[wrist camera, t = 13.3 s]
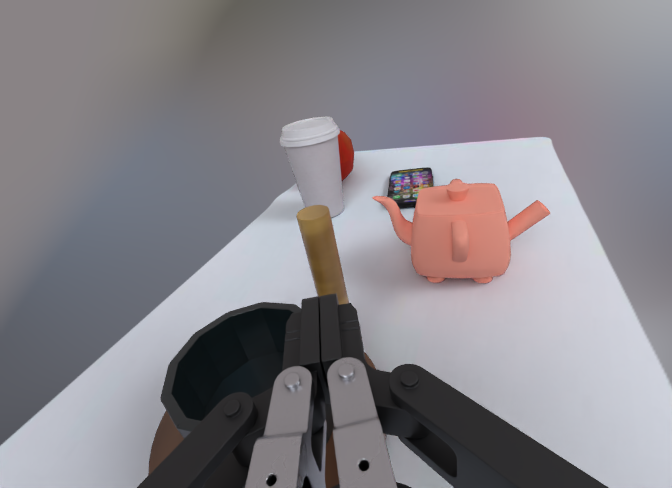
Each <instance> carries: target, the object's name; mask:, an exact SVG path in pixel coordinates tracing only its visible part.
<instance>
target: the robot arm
mask: <svg viewBox="0 0 672 488" xmlns="http://www.w3.org/2000/svg"><path fill="white" fill-rule="evenodd" d="M326 404H331V408H332V415H333V423H334V428H333V438H334V446H335V453H336V461H337V469H338V476H339V484H338V485H335V486H333V487H331V488H411V487H409V486H407V485H404V484H401V483H398V482H396V481H395V477H394V473H393V470H392V466H391V462H390V458H389V454H388V450H387V447H386V443H385V439H384V435H383V433H384V434H389V435H395V436H398V438H399V439H400V441H401V442H402V443H404V444H405V445H406V446H407V447H408V448H409V449H410V450H412V451H413V452H414V453H415V454H416V455H417V456H419V457H420V458H421V459H422V460H423V461H424V462H425V463H427V464H428V465H429V466H430V467H431V468H432V469H433V470H435V471H436V472H437V473H438V474H439V475H440V476H442V477H443V478H444V479H445V480H446V481H447V482H448V483H450V484H451V485H452V486H453V487H454V488H608V487H607V486H605V485H604V484H602V483H600V482H599V481H597V480H596V479H594V478H593V477H591V476H590V475H588V474H586V473H585V472H583V471H582V470H580V469H579V468H577V467H576V466H574V465H572V464H571V463H569V462H568V461H566V460H565V459H563V458H562V457H560V456H558V455H557V454H555V453H554V452H552V451H551V450H549V449H548V448H546V447H544V446H543V445H541V444H540V443H538V442H537V441H535V440H534V439H532V438H530V437H529V436H527V435H526V434H524V433H523V432H521V431H520V430H518V429H517V428H515V427H513V426H512V425H510V424H509V423H507V422H506V421H504V420H503V419H501V418H499V417H498V416H496V415H495V414H493V413H492V412H490V411H489V410H487V409H485V408H484V407H482V406H481V405H479V404H478V403H476V402H475V401H473V400H471V399H470V398H468V397H467V396H465V395H464V394H462V393H461V392H459V391H457V390H456V389H454V388H453V387H451V386H450V385H448V384H447V383H445V382H443V381H442V380H440V379H439V378H437V377H436V376H434V375H433V374H431V373H430V372H428V371H426V370H425V369H423V368H422V367H420V366H417V365H414V364H404V365H401V366H398V367H396V368H395V369H394V370H393V371H392V372H384V371H379V370H376V369H374V368H372V367H371V366H370V365H368V363H367V362H366V360H365V354H364V348H363V342H362V336H361V331H360V326H359V321H358V316H357V311H356V309H355V308H354V307H353V306H352V304H351V303H346V304H341V305H339V301H338V297H337V293H334V294H329V295H323V296H320V298H319V296H318V297H313V298H307V299H302V309H301V312H297V313H292V314H291V316H290V317H289V319H288V321H287V323H286V334H285V344H284V355H283V366H282V372H281V373H280V374H279V375H278V376H277V378H276V380H275V382H274V386H272V387H271V388H270V389H268V390H267V391H265V392H263V393H261V394H259V395H257V396H254V397H252V398H251V396H250V395H248V394H247V393H244V392H236V393H232V394H230V395H228V396H226V397H225V398H224V399H222V400H221V401H220V402H219V403H218V404H217V405H216V406H215V407H214V408H213V410H212V411H211V412H210V413H209V414H208V415H207V416H206V417H205V418H204V419H203V420H202V421H201V422H200V423H199V424H198V425H197V426H196V427H195V428H194V429H193V430H192V431H191V432H190V433H189V434H188V435H187V436H186V437H185V438H184V440H183V441H182V442H181V443H180V444H179V445H178V446H177V447H176V448H175V449H174V450H173V451H172V452H171V453H170V454H169V455H168V456H167V457H166V458H165V459H164V460H163V461H162V462H161V463H160V464H159V465H158V466H157V467H156V468H155V469H154V471H153V472H152V473H151V474H150V475H149V476H148V477H147V478H146V479H145V480H144V481H143V482H142V483H141V484H140V485H139V486H138V487H137V488H326V485H325V456H326V430H327V423H326V419H325V417H326V413H325V405H326Z"/></svg>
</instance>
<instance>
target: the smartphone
mask: <svg viewBox="0 0 672 488" xmlns="http://www.w3.org/2000/svg"><path fill="white" fill-rule="evenodd" d="M428 187H433V176H432V170H431V168H417V169H408V170H399V171H394V172H392V173H391V176H390V181H389V189H388V195H387V197H389V198H391V199H393V200H394V201H395V202H396V203H397V205H398V207H399V208H407V207H416V202H417V198H418V193H419V191H420V190H421V189H423V188H428Z"/></svg>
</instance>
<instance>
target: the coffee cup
mask: <svg viewBox="0 0 672 488" xmlns="http://www.w3.org/2000/svg"><path fill="white" fill-rule="evenodd" d="M339 133H340V130H339V128H338V126H337V125H336V124H335V123H334V121H333V119H332V118H331V117H315V118H309V119H304V120H300V121H297V122H293V123H291V124H288V125H286V126H284V127H283V128H282V135H281V137H280V144H281V146H284V148H285V151H286V154H287V156H288V159H289V162H290V165H291V168H292V171H293V173H294V176H295V179H296V182H297V185H298V188H299V191H300V194H301V197H302V200H303V203H304V205H305V208H306V207H309V206H313V205H324V206H327V207H328V208H329V211H330V216H331V218H333V217H335V216H337V215H339V214H340V213H342V212H343V210H344V200H343V189H342V179H341V168H340V157H339V146H338V134H339Z"/></svg>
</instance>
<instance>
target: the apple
mask: <svg viewBox="0 0 672 488" xmlns="http://www.w3.org/2000/svg"><path fill="white" fill-rule="evenodd" d="M338 146H339V157H340V168H341V179H342V181H343V180H344V179H345V178H346V177H347V176H348V174H349V173H350V172H351V171H352V169H353V161H354V150H353V146H352V142H351V139H350V138H349V137H348V136H347V135H346V134H345V132H343V131H341V130H340V133H339V134H338Z"/></svg>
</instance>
